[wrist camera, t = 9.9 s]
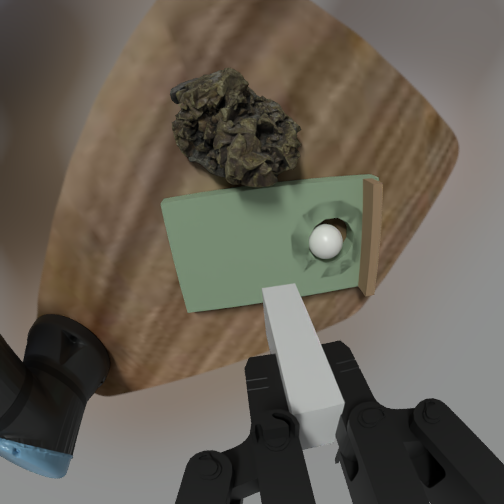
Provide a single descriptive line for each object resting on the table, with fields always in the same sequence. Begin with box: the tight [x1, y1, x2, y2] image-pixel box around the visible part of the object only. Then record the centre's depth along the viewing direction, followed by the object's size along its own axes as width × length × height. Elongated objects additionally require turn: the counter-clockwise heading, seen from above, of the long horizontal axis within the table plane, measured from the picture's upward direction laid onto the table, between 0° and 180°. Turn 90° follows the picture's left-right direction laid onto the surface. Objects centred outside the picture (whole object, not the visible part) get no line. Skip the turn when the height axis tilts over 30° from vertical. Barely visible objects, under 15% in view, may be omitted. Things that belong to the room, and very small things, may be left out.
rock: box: [170, 68, 301, 187], centre depth 27 cm, size 13×10×10 cm
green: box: [161, 174, 383, 313], centre depth 32 cm, size 24×14×4 cm, turn 96°
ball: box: [309, 224, 343, 259], centre depth 33 cm, size 4×4×4 cm
